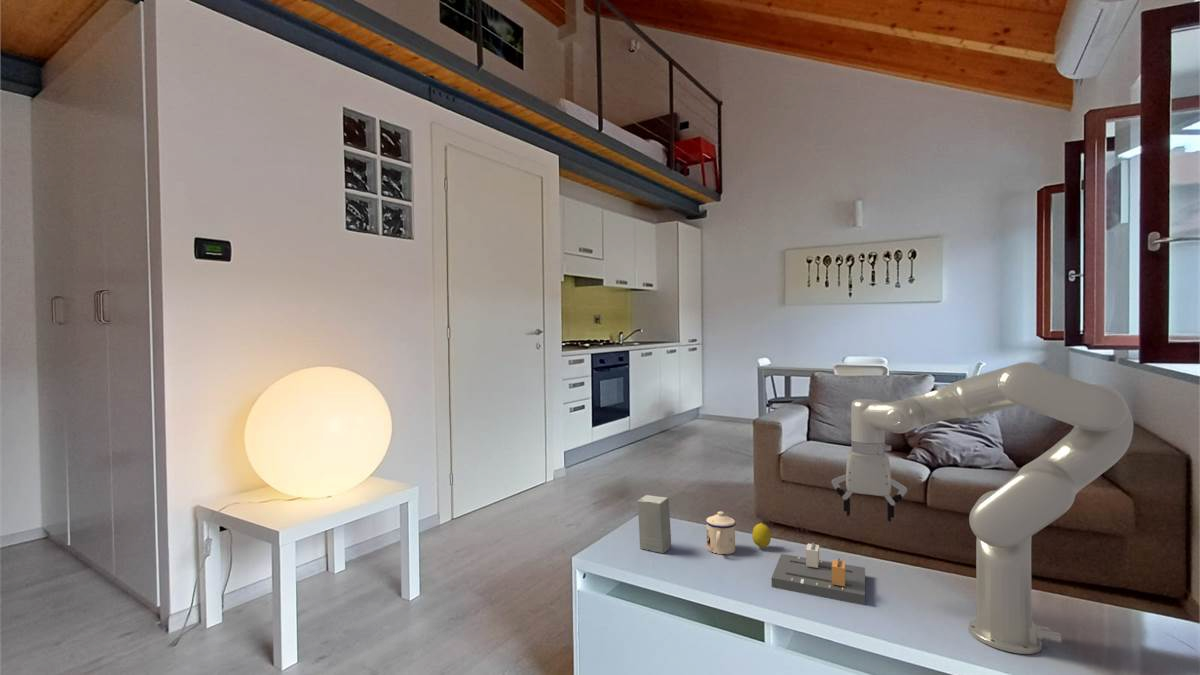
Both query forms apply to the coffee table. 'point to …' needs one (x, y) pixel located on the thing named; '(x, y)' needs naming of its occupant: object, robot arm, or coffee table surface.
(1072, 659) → the coffee table surface
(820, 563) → the console
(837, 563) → the fader orange
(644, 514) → the skincare box
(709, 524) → the teacup with lid
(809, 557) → the fader white
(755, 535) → the lemon
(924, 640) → the coffee table surface
